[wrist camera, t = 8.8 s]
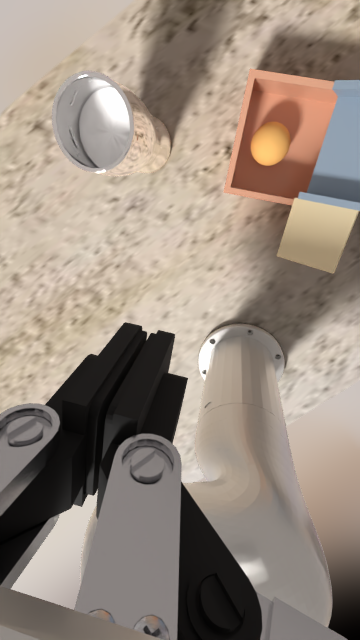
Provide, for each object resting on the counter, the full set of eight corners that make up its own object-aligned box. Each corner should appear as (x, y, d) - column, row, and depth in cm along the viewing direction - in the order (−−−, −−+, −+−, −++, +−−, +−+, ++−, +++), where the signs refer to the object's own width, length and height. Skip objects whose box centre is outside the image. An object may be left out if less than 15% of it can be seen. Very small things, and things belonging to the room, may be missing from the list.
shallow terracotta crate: (313, 207, 36) (324, 211, 32) (225, 191, 37) (223, 192, 32) (350, 100, 31) (368, 87, 27) (248, 84, 32) (250, 68, 28)
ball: (245, 163, 35) (280, 169, 34) (247, 161, 31) (286, 168, 31) (255, 122, 33) (291, 128, 33) (258, 115, 29) (299, 122, 29)
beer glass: (139, 189, 39) (86, 193, 25) (107, 135, 37) (31, 110, 23) (185, 154, 36) (154, 139, 23) (153, 95, 34) (97, 41, 21)
